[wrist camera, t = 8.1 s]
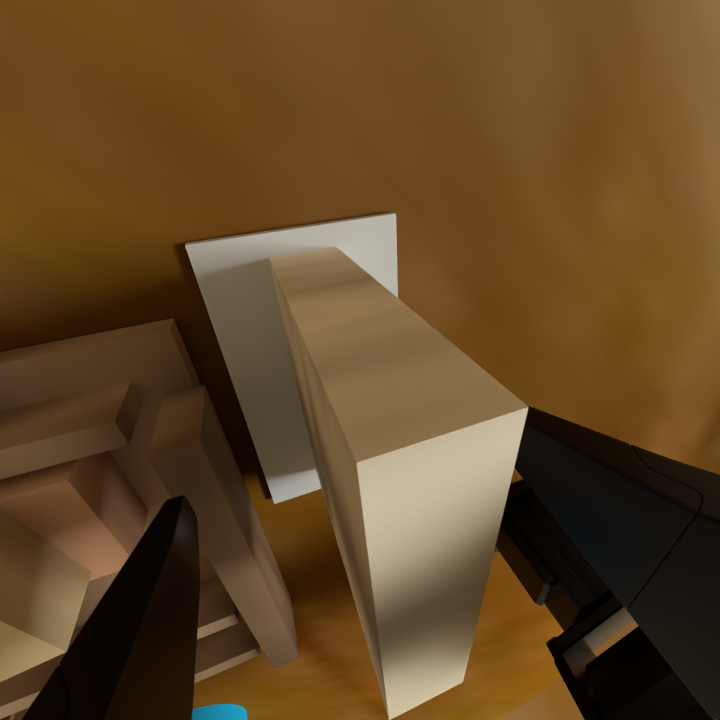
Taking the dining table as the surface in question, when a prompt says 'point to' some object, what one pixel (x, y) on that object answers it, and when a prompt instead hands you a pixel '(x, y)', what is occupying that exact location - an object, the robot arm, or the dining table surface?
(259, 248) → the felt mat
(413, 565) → the block
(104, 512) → the offcut low
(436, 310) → the dining table surface
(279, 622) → the rack
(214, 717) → the mug
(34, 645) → the offcut top
